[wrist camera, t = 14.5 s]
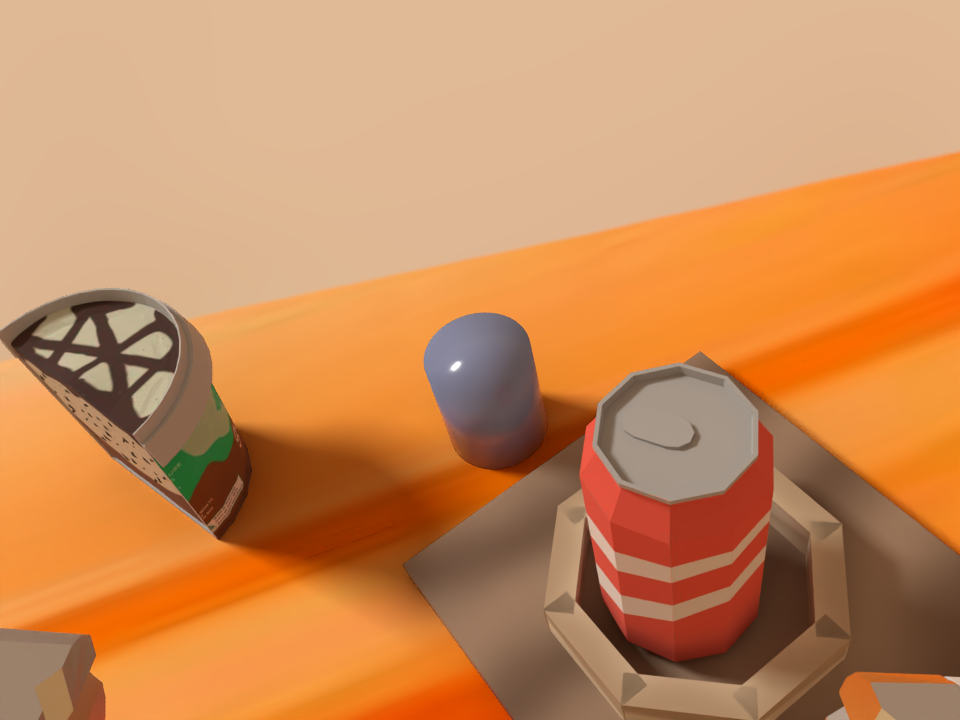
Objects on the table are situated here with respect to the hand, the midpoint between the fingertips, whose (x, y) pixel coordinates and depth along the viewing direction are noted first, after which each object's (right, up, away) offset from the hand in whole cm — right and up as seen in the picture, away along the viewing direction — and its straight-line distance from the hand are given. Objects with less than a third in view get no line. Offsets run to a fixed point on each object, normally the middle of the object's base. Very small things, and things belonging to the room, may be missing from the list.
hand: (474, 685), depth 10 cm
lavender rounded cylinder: (+1, 0, +36) cm, 36 cm away
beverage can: (+8, -6, +27) cm, 29 cm away
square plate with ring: (+9, -7, +28) cm, 30 cm away
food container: (-15, -2, +38) cm, 41 cm away
